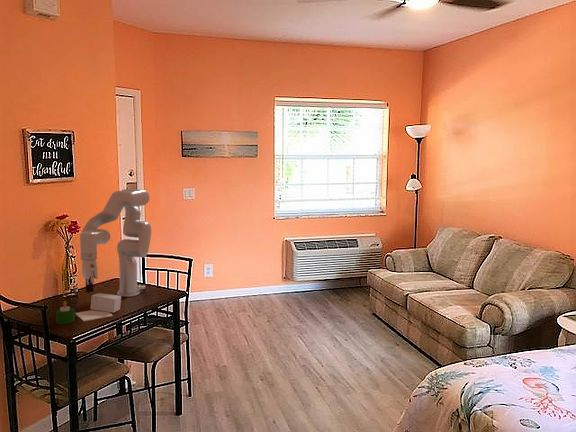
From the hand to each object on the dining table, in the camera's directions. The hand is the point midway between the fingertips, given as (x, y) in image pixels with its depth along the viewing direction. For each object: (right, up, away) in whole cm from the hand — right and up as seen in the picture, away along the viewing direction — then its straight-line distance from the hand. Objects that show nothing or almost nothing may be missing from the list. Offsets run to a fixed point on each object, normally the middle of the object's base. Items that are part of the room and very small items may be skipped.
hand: (89, 291), depth 251 cm
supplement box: (0, -5, +5) cm, 7 cm away
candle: (-7, -12, -13) cm, 19 cm away
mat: (+3, -11, -3) cm, 12 cm away
